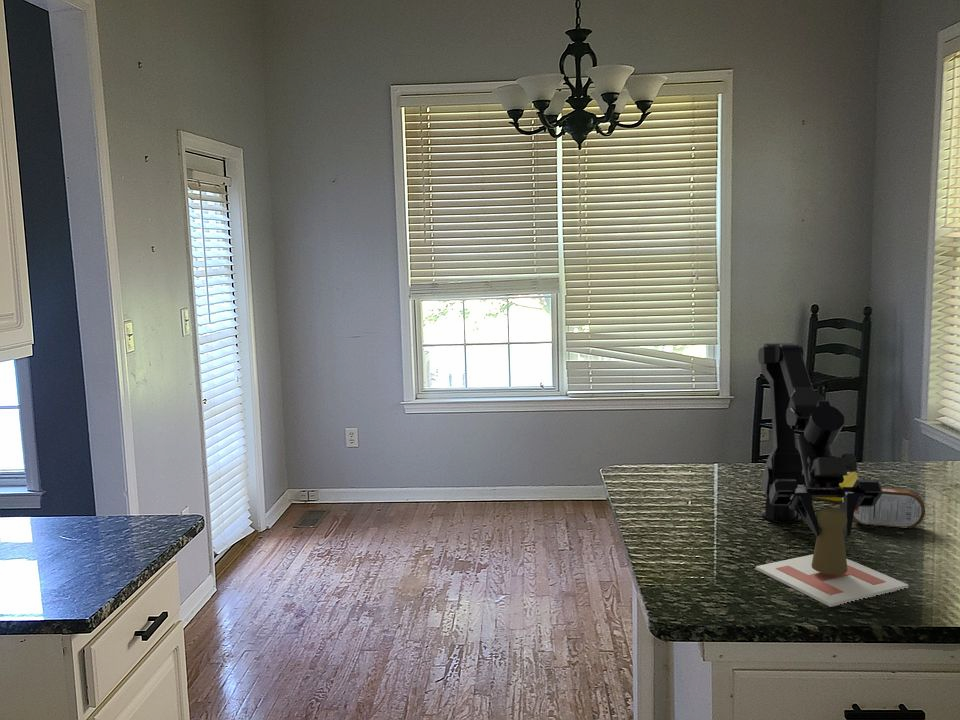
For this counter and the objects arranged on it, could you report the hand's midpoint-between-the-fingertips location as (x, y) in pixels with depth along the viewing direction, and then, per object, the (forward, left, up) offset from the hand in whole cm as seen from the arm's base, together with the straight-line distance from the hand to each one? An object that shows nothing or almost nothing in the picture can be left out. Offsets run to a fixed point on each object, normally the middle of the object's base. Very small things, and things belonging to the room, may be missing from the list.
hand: (833, 535), depth 147 cm
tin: (-33, -17, -9) cm, 38 cm away
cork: (-1, -1, -7) cm, 7 cm away
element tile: (-40, -43, -9) cm, 60 cm away
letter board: (-1, -1, -8) cm, 9 cm away
